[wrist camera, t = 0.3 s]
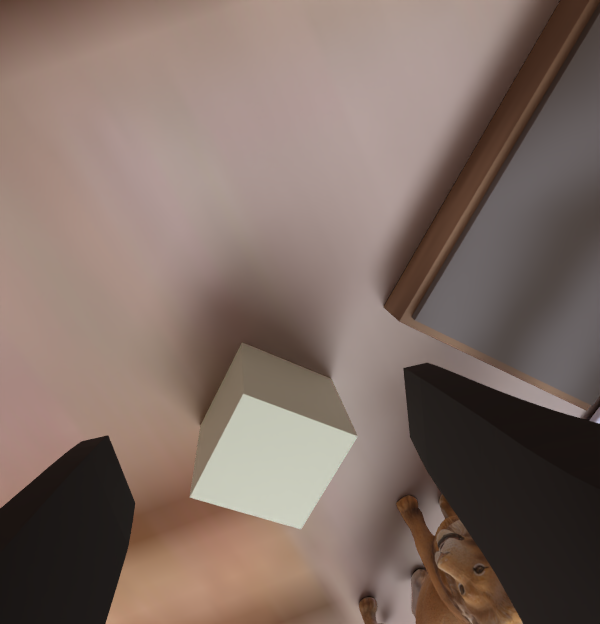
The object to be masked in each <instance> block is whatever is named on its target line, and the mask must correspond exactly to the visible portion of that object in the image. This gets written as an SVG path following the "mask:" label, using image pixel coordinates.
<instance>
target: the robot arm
mask: <svg viewBox="0 0 600 624" xmlns="http://www.w3.org/2000/svg"><path fill="white" fill-rule="evenodd" d="M403 369H404V379H405V389H406V400H407V410H408V420H409V430H410V438H411V440H412V442H413V444H414V446H415V448H416V450H417V452H418V454H419V456H420V458H421V460H422V462H423V464H424V466H425V468H426V470H427V471H428V473H429V475H430V476H431V478H432V479H433V481H434V482H435V484H436V485H437V487H438V488H439V490H440V491H441V493H442V494H443V496H444V497H445V499H446V500H447V502H448V503H449V505H450V506H451V508H452V509H453V511H454V512H455V513H456V515H457V516H458V518H459V519H460V521H461V522H462V524H463V525H464V527H465V528H466V530H467V531H468V533H469V534H470V536H471V537H472V539H473V540H474V541H475V543H476V544H477V546H478V547H479V549H480V550H481V552H482V553H483V555H484V556H485V558H486V560H487V561H488V563H489V564H490V566H491V568H492V569H493V571H494V572H495V574H496V576H497V577H498V579H499V581H500V583H501V585H502V586H503V588H504V590H505V592H506V594H507V595H508V597H509V599H510V601H511V603H512V604H513V606H514V608H515V610H516V612H517V613H518V615H519V617H520V619H521V621H522V623H523V624H600V407H599V408H598V409H597V411H596V412H595V413H594V415H593V416H592V417H591V419H590V420H589V421H588V420H585V419H581V418H577V417H574V416H570V415H567V414H564V413H560V412H557V411H554V410H551V409H548V408H545V407H542V406H539V405H536V404H533V403H530V402H527V401H524V400H521V399H519V398H516V397H513V396H511V395H508V394H505V393H503V392H500V391H497V390H495V389H492V388H490V387H487V386H485V385H482V384H480V383H477V382H475V381H473V380H470V379H468V378H465V377H463V376H461V375H458V374H456V373H453V372H451V371H448V370H446V369H443V368H441V367H438V366H435V365H433V364H429V363H424V364H419V365H415V366H411V367H406V368H403ZM134 508H135V501H134V499H133V496H132V494H131V491H130V489H129V486H128V484H127V481H126V479H125V476H124V474H123V471H122V469H121V466H120V464H119V461H118V459H117V456H116V454H115V451H114V449H113V446H112V444H111V441H110V439H109V436H103V437H99V438H95V439H90V440H86V441H82V442H80V443H79V444H77V445H76V446H74V447H73V448H72V449H70V450H69V451H68V452H67V453H65V454H64V455H63V456H62V457H60V458H59V459H58V460H57V461H56V462H54V463H53V464H52V465H51V466H50V467H48V468H47V469H46V470H45V471H44V472H43V473H41V474H40V475H39V476H38V477H37V478H36V479H34V480H33V481H32V482H31V483H30V484H29V485H27V486H26V487H25V488H24V489H23V490H22V491H20V492H19V493H18V494H17V495H16V496H14V497H13V498H12V499H11V500H10V501H9V502H7V503H6V504H5V505H4V506H3V507H2V508H0V624H105V623H106V620H107V616H108V613H109V610H110V607H111V603H112V600H113V597H114V593H115V590H116V587H117V584H118V580H119V577H120V573H121V570H122V567H123V563H124V560H125V556H126V553H127V549H128V545H129V539H130V534H131V528H132V522H133V515H134Z"/></svg>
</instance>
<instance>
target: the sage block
mask: <svg viewBox="0 0 600 624" xmlns="http://www.w3.org/2000/svg"><path fill="white" fill-rule="evenodd" d="M357 437H358V436H357V434H356V431H355V429H354V427H353V425H352V423H351V421H350V418H349V416H348V414H347V412H346V410H345V407H344V405H343V403H342V401H341V399H340V397H339V394H338V392H337V390H336V388H335V386H334V383H333V381H332V379H331V378H328V377H326V376H323V375H321V374H319V373H316V372H314V371H311V370H309V369H306V368H304V367H301V366H299V365H296V364H294V363H292V362H289V361H287V360H284V359H282V358H279V357H277V356H274V355H272V354H269V353H267V352H265V351H262V350H260V349H257V348H255V347H252V346H250V345H247V344H245V343H243V342H242V343H241V345H240V347H239V349H238V351H237V353H236V355H235V357H234V359H233V361H232V363H231V365H230V367H229V369H228V371H227V373H226V375H225V377H224V379H223V381H222V383H221V385H220V387H219V389H218V391H217V393H216V395H215V397H214V399H213V401H212V403H211V405H210V407H209V409H208V411H207V413H206V415H205V417H204V419H203V421H202V423H201V425H200V431H199V438H198V445H197V452H196V458H195V465H194V472H193V479H192V486H191V492H190V498H194V499H197V500H201V501H204V502H208V503H211V504H214V505H218V506H221V507H225V508H228V509H232V510H235V511H239V512H242V513H246V514H249V515H253V516H256V517H260V518H263V519H267V520H270V521H274V522H277V523H281V524H284V525H288V526H291V527H295V528H298V529H301V528H302V527H303V525H304V524H305V522H306V520H307V519H308V517H309V515H310V514H311V512H312V510H313V509H314V507H315V506H316V504H317V502H318V501H319V499H320V497H321V496H322V494H323V492H324V491H325V489H326V487H327V486H328V484H329V483H330V481H331V479H332V478H333V476H334V474H335V473H336V471H337V469H338V468H339V466H340V465H341V463H342V461H343V460H344V458H345V456H346V455H347V453H348V451H349V450H350V448H351V447H352V445H353V443H354V442H355V440H356V438H357Z"/></svg>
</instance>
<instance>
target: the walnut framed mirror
mask: <svg viewBox="0 0 600 624" xmlns="http://www.w3.org/2000/svg"><path fill="white" fill-rule="evenodd" d="M384 308H385V309H386V310H387V311H388V312H389V313H391V314H392V315H393V316H394V317H395V318H396V319H397V320H398V321H399V322H401V323H404V324H406V325H408V326H410V327H412V328H414V329H416V330H418V331H420V332H422V333H425V334H427V335H429V336H431V337H433V338H435V339H437V340H439V341H441V342H443V343H446V344H448V345H450V346H452V347H454V348H456V349H458V350H460V351H462V352H464V353H467V354H469V355H471V356H473V357H475V358H477V359H479V360H481V361H483V362H485V363H488V364H490V365H492V366H494V367H496V368H498V369H500V370H502V371H504V372H506V373H509V374H511V375H513V376H515V377H517V378H519V379H521V380H523V381H525V382H527V383H530V384H532V385H534V386H536V387H538V388H540V389H542V390H544V391H546V392H548V393H551V394H553V395H555V396H557V397H559V398H561V399H563V400H565V401H567V402H569V403H572V404H574V405H576V406H578V407H580V408H582V409H584V410H586V411H587V410H588V408H589V407H590V406H593V405H594V403H595V402H596V401H597V399H598V398H599V397H600V0H560V2H559V4H558V5H557V7H556V9H555V11H554V12H553V14H552V16H551V18H550V19H549V21H548V23H547V25H546V26H545V28H544V30H543V31H542V33H541V35H540V37H539V38H538V40H537V42H536V44H535V45H534V47H533V49H532V51H531V52H530V54H529V56H528V57H527V59H526V61H525V63H524V64H523V66H522V68H521V70H520V71H519V73H518V75H517V77H516V78H515V80H514V82H513V83H512V85H511V87H510V89H509V90H508V92H507V94H506V96H505V97H504V99H503V101H502V103H501V104H500V106H499V108H498V109H497V111H496V113H495V115H494V116H493V118H492V120H491V122H490V123H489V125H488V127H487V129H486V130H485V132H484V134H483V135H482V137H481V139H480V141H479V142H478V144H477V146H476V148H475V149H474V151H473V153H472V154H471V156H470V158H469V160H468V161H467V163H466V165H465V167H464V168H463V170H462V172H461V174H460V175H459V177H458V179H457V180H456V182H455V184H454V186H453V187H452V189H451V191H450V193H449V194H448V196H447V198H446V200H445V201H444V203H443V205H442V206H441V208H440V210H439V212H438V213H437V215H436V217H435V219H434V220H433V222H432V224H431V226H430V227H429V229H428V231H427V232H426V234H425V236H424V238H423V239H422V241H421V243H420V245H419V246H418V248H417V250H416V252H415V253H414V255H413V257H412V258H411V260H410V262H409V264H408V265H407V267H406V269H405V271H404V272H403V274H402V276H401V278H400V279H399V281H398V283H397V284H396V286H395V288H394V290H393V291H392V293H391V295H390V297H389V298H388V300H387V302H386V304H385V305H384Z"/></svg>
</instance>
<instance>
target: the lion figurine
mask: <svg viewBox="0 0 600 624" xmlns="http://www.w3.org/2000/svg"><path fill="white" fill-rule="evenodd" d="M396 504H397V507H398V509H399V511H400V513H401V515H402V517H403V519H404V521H405V522H406V523H407V525H408V526H409V528H410V530H411V532H412V535H413V538H414V541H415V545H416V548H417V551H418V553H419V555H420V557H421V559H422V562H423V564H424V566H425V568H426V569H418V570H417V571H416V572H415V573H414V574H413V576H412V578H411V587H412V613H413V614H414V616H415V618H416V624H523V623H522V621H521V619H520V617H519V615H518V613H517V612H516V610H515V608H514V606H513V604H512V603H511V601H510V599H509V597H508V595H507V594H506V592H505V590H504V588H503V586H502V585H501V583H500V581H499V579H498V577H497V576H496V574H495V572H494V571H493V569H492V568H491V566H490V564H489V563H488V561H487V560H486V558H485V556H484V555H483V553H482V552H481V550H480V549H479V547H478V546H477V544H476V543H475V541H474V540H473V539H472V537H471V536H470V534H469V533H468V531H467V530H466V528H465V527H464V525H463V524H462V522H461V521H460V519H459V518H458V516H457V515H456V513H455V512H454V511H453V509H452V508H451V506H450V505H449V503H448V502H447V500H446V499H445V497H444V496H443V494H442V495H441V496H440V499H439V504H440V508H441V511H442V513H443V515H444V517H445V520H444V521H443V522H442V523H441V524H440V526H439V527H438V530H437V532H436V535H435V536H433V535H432V534H431V532H430V531H429V529H428V528H427V526H426V524H425V521H424V518H423V515H422V512H421V511H420V509H419V508H418V502H417V500H416V499H415V497H412V496H410V495H407V496H405V497H403V498H401V499H400V500H399V501H397V503H396ZM377 607H378V606H377V602H376V600H375V599H374V598H372V597H366V598H364V599H362V600H361V601H360V604H359V608H360V612H361V615H362V617H363V620H364V623H365V624H378V623H377V622H376V617H375V615H376V611H377ZM379 624H382V623H379Z"/></svg>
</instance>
